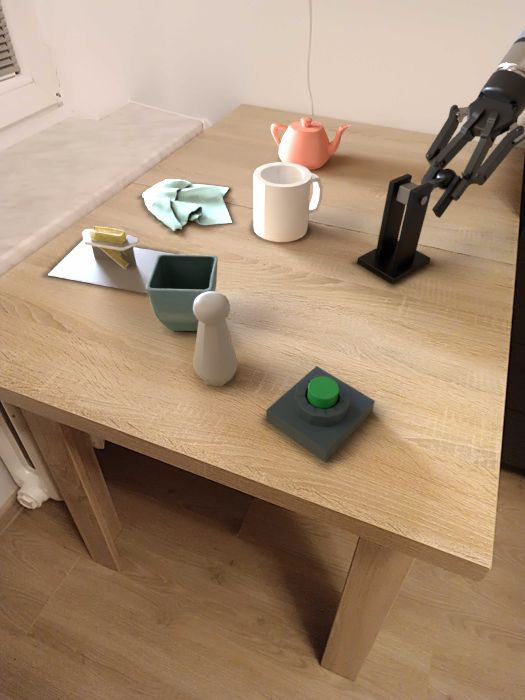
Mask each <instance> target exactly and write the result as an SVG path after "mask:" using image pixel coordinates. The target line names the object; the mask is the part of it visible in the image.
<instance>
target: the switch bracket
mask: <svg viewBox="0 0 525 700" xmlns="http://www.w3.org/2000/svg"><path fill="white" fill-rule="evenodd" d="M412 179H413V175H412V174H410V173H405V174H403V175H400V176H398V177H396V178H393V179H391V180H389V181H388V187H387V191H386V197H385V202H384V208H383V214H382V218H381V223H380V229H379V234H378V239H377V243H376V248H375V249H372V250H370V251H368V252H366V253H364V254H362V255H360V256H358V257H357V259H356V264H357V265H358V266H360V267H362V268H363V269H365V270H367V271H369V272H370V273H371V274H373V275H375V276H377V277H379V278H380V279H381V280H384V281H385V282H387V283H389V285H394V284H396V283H398V282H400V281H402V280H403V279H405V278H406V277H408V276H410V275H412V274H413V273H416V272H417V271H418V270H420V269H422V268H424V267H426V266H428V265H429V264H430V263H431V260H432V258H431V257H430V256H428V255H427V254H424V253H422V252H421V251H420V250H417V249H418V245H419V242H420V237H421V233H422V229H423V226H424V222H425V219H426V214H427V211H428V207H429V202H430V199H431V196H432V192H433V191H432V187H433V184H431V183H429V182H427V183H425V184H423V185H421V186H419V187H416V188H414V189H412V190H410V193H409V198H408V202H407V205H405V204H403V203H401V202H399V201H397V200H396V199H397V195H398V190H399V186H401V185H403V184H406V183H409V182H412ZM431 191H432V192H431Z"/></svg>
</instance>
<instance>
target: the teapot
mask: <svg viewBox="0 0 525 700" xmlns="http://www.w3.org/2000/svg"><path fill="white" fill-rule="evenodd" d="M350 127H351V124H345V125H341V126H339V127H338V128H337V131H336V133H335V136H334V139H332V141H330V139H329V136H328V134H327V131H326V130H325V129H326V128H324V125H323V123H321V122H319V121H316V120H313V119H312V117H307V116H305V117H302V118H301V119H299V120H295V121H293V122H291V123H290V124H289V126H286V125H283V124H281V123H278V122H277V123H276V122H275V123H272V124H271V125H270V131H271V132H270V133H271V135H272V137H273V139H274V141H275V143H276V145H277V146H278V156H279V159H280V160H281V162H288V163H294V164H299V165H301V166H304V167H306V168H307V169H308V170H309V171H313V170H318V169H320V168H321V167H323V166H324V165H325V164H326V163H327V162H328V161H329V159H330V157H331V155H333V154H335V153H336V152H337V150H338V149H339V146H340V143H341V139H342V136H343V133H344V132H345V131H346V130H347V129H348V128H350ZM279 130H282V131H285V132H284V134H283V136H282V138H281V139H280V136H279V132H278V131H279Z"/></svg>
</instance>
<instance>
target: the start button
mask: <svg viewBox="0 0 525 700" xmlns="http://www.w3.org/2000/svg"><path fill="white" fill-rule="evenodd" d="M338 393H339V386H338V384H337V383H336V382H335V381H334V380H333V379H331V378H328V377H316V378H314V379H313V380H311V381H310V383H309V385H308V394H307V397H308V400H309V402H310V403H311V404H312V405H313V406H315V407H317V408H322V409H325V408H330V407H332V406H334V405H335V404H336V402H337V399H338Z"/></svg>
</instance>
